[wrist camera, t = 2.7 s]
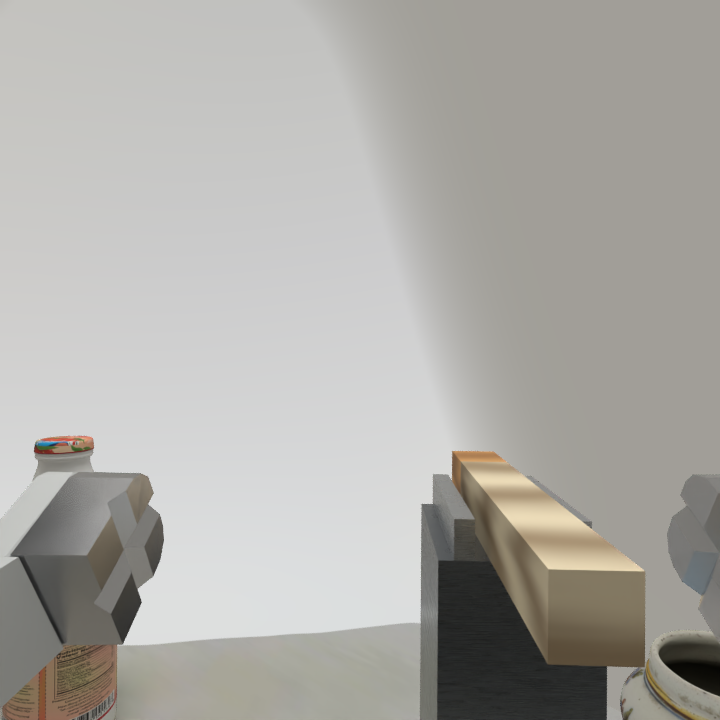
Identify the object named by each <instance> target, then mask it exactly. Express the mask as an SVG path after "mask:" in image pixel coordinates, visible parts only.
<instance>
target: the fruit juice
mask: <svg viewBox="0 0 720 720" xmlns="http://www.w3.org/2000/svg"><path fill="white" fill-rule="evenodd" d="M93 448H94V443H93V438H91V437H87V436H60V437H51V438H44V439H40V440H37V441H36V443H35V447H34V452H35V458H36V459H37V460H38V467H37V470H36V473H35V475H34V478H33V480H34V479H35V478H36V477H37V476H39V475H41V474H44V473H46V472H74V473H78V472H93V469H92V466H91V463H90V456H91V455H92V454H93ZM32 482H33V481H32ZM62 646H63V650H62V651H61V652H60V653H59V654H58V655H57V656H56V657H54V658H53V659H52V660H51V661H50V662H49V663H48V664H47V665H46V666H45V667H44V668H43V669H42V670H41V671H40V672H39V673H38V674H36V675H35V676H34V677H33V678H32V679H31V680H30V681H29V682H28V683H27V684H26V685H25V686H24V687H23V688H22V689H21V690H20V691H18V692H17V693H16V694H15V695H14V696H13V697H12V698H11V699H10V700H9V701H8V702H7V703H6V704H5V705H4V706H3V709H2V720H115V715H116V700H117V645H62Z"/></svg>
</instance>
